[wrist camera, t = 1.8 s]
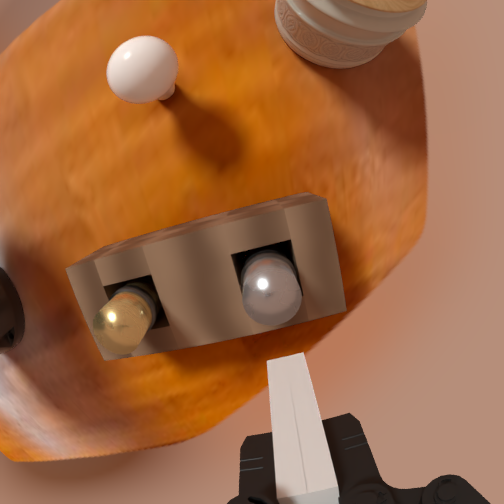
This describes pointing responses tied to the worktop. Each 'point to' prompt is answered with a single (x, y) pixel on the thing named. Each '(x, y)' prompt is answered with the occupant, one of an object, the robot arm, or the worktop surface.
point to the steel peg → (269, 286)
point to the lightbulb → (143, 70)
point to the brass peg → (127, 316)
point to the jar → (344, 28)
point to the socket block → (215, 272)
